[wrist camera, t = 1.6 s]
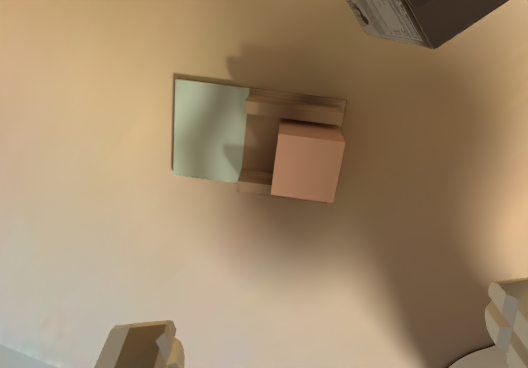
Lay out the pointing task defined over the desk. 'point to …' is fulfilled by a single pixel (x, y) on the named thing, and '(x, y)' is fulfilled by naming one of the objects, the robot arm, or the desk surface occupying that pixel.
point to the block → (307, 160)
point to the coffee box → (420, 18)
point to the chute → (239, 130)
